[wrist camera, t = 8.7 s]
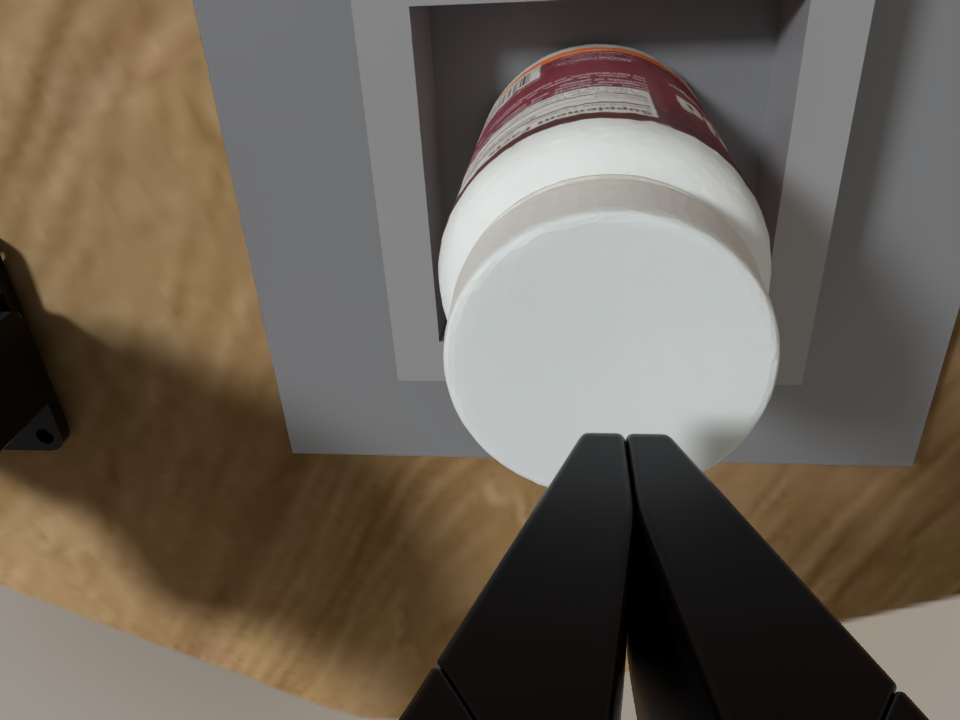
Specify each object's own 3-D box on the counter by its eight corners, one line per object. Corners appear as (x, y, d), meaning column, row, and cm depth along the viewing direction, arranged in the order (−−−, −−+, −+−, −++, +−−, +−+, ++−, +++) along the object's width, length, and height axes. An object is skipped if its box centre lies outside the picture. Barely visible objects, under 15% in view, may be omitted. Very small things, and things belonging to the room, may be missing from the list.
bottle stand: (301, 435, 22) (268, 503, 20) (147, -296, 14) (60, -329, 12) (901, 446, 20) (944, 522, 18) (1135, -383, 12) (1271, -444, 10)
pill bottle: (726, 234, 17) (835, 490, 10) (514, 283, 18) (477, 545, 11) (689, 4, 15) (797, 125, 8) (449, 77, 16) (351, 241, 9)
